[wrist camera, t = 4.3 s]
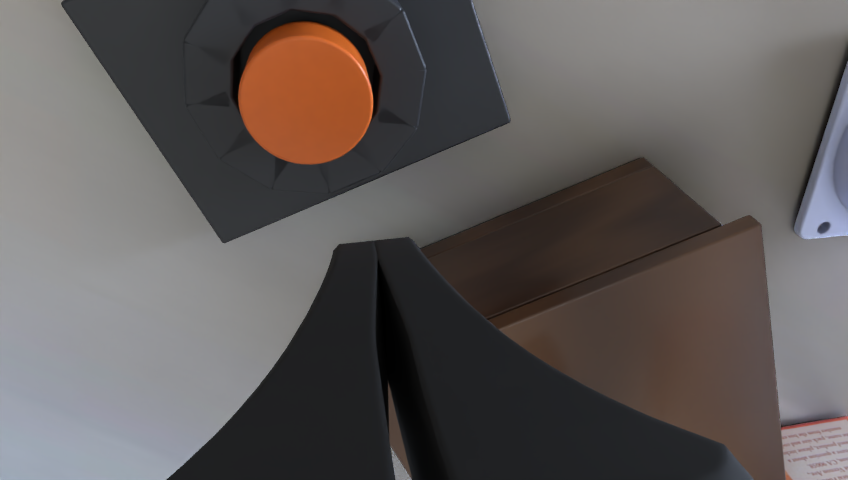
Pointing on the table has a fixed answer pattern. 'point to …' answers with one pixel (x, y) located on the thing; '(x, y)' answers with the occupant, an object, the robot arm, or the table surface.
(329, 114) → the release button
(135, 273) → the table surface
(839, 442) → the cracker box
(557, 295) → the lid
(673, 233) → the compartment
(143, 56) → the panel
